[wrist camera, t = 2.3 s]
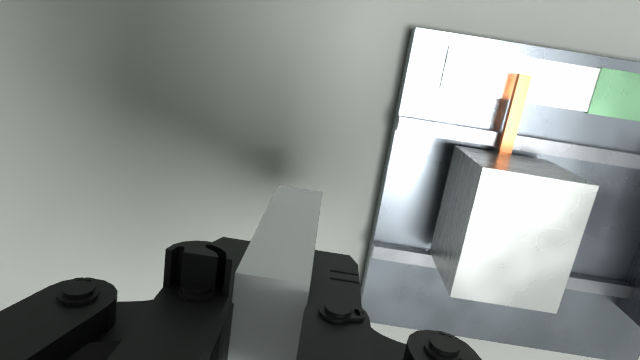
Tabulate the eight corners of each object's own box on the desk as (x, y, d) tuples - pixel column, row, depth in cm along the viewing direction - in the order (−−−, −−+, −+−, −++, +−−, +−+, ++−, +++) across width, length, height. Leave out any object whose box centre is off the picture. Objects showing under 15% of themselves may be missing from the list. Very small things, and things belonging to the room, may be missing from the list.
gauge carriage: (473, 66, 18) (508, 69, 15) (570, 81, 18) (631, 88, 15) (429, 251, 21) (449, 296, 17) (516, 265, 21) (556, 313, 17)
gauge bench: (411, 28, 20) (449, 14, 13) (726, 78, 20) (933, 90, 13) (357, 307, 24) (363, 411, 17) (621, 349, 24) (737, 471, 17)
